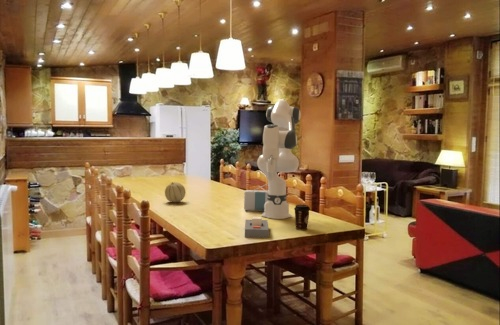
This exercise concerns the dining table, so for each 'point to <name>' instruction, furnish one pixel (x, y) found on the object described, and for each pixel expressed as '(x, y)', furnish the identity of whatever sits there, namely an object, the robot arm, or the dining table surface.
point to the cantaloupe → (175, 192)
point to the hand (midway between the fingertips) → (270, 180)
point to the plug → (256, 221)
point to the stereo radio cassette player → (255, 199)
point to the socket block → (256, 229)
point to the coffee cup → (301, 216)
